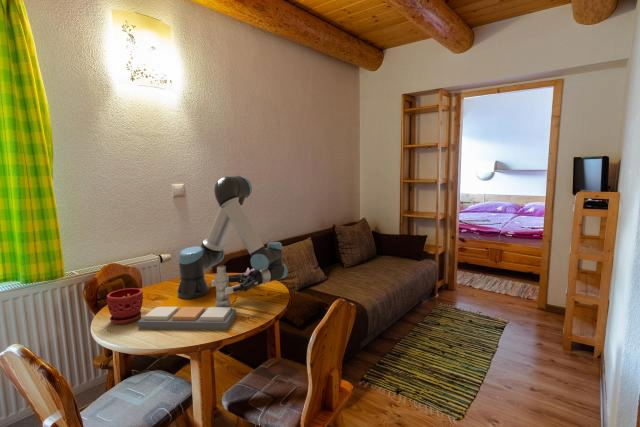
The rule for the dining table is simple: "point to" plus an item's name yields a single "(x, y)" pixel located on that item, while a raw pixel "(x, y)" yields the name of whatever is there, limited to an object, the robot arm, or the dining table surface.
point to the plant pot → (125, 305)
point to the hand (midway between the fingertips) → (218, 287)
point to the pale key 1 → (161, 313)
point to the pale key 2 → (215, 314)
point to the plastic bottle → (221, 287)
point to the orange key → (188, 313)
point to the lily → (247, 272)
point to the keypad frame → (188, 323)
